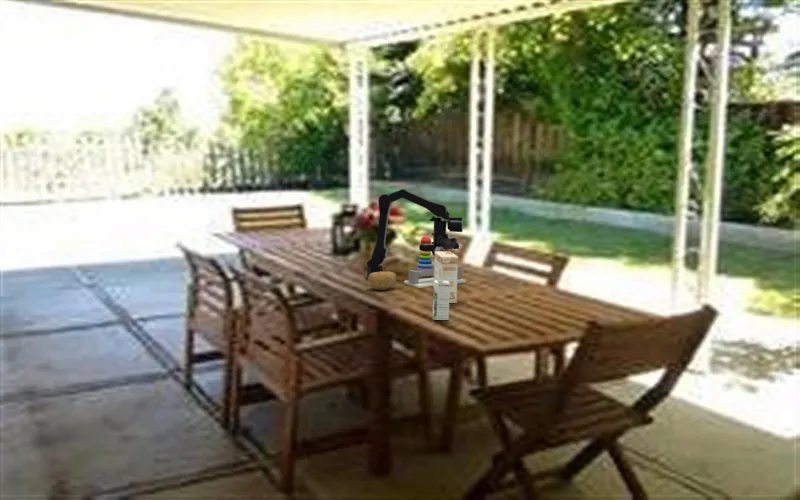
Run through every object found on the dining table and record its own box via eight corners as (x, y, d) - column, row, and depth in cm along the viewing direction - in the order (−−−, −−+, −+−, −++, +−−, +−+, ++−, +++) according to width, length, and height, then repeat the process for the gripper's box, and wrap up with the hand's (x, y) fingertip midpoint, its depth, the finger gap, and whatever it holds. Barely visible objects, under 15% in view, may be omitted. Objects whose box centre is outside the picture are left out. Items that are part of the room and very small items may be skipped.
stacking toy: (431, 277, 420) (432, 237, 417) (414, 276, 421) (415, 236, 418) (434, 274, 427) (435, 235, 424) (417, 273, 429) (418, 234, 426)
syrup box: (432, 317, 341) (433, 279, 338) (447, 317, 341) (448, 279, 339) (433, 321, 335) (434, 282, 333) (449, 320, 335) (450, 282, 333)
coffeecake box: (457, 304, 364) (458, 256, 361) (440, 304, 363) (441, 257, 360) (449, 296, 379) (450, 250, 376) (432, 296, 378) (433, 251, 374)
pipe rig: (419, 287, 395) (419, 272, 394) (404, 283, 405) (404, 268, 404) (465, 282, 409) (466, 268, 408) (450, 277, 419) (450, 263, 418)
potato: (401, 289, 391) (402, 271, 389) (375, 293, 382) (375, 274, 381) (388, 285, 398) (389, 268, 397) (362, 289, 390) (362, 271, 389)
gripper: (433, 234, 393) (432, 269, 395) (467, 232, 403) (465, 266, 405) (418, 231, 402) (418, 265, 404) (452, 229, 412) (451, 262, 414)
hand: (438, 265), depth 407 cm, fingers closed
